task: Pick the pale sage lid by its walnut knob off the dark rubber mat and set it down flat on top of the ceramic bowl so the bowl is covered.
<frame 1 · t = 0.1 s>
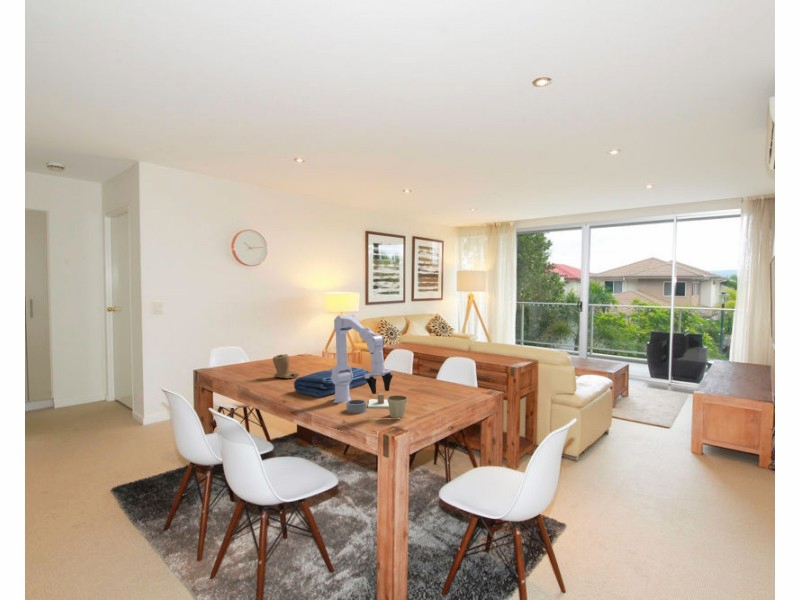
hand: (380, 392, 191), 10 cm above the table, tool pointing down, fingers open, 7 cm apart
mat: (380, 405, 207), on the table
lid: (380, 404, 207), point 1 cm above the table, touching mat
flower pot: (397, 417, 189), on the table
bowl: (356, 411, 197), on the table
towel: (333, 388, 244), on the table
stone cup: (284, 378, 270), on the table
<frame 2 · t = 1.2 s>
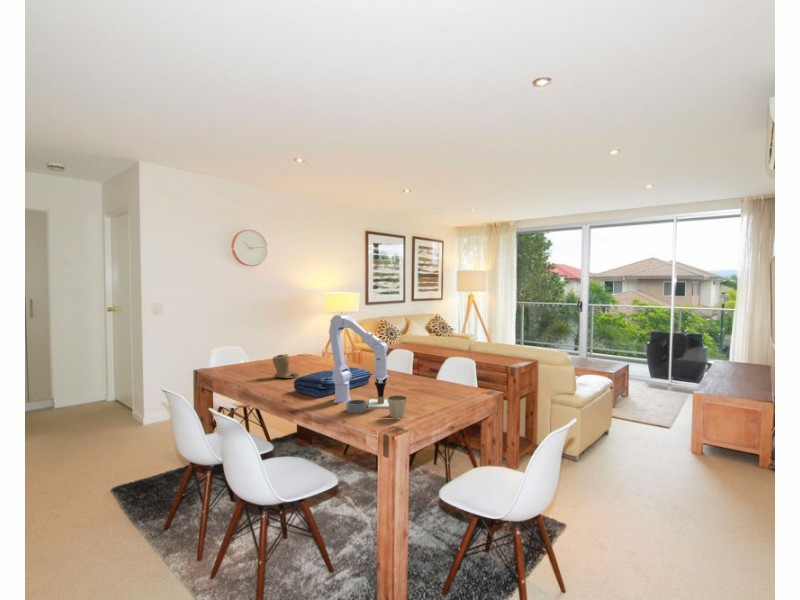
hand: (381, 394, 207), 5 cm above the table, tool pointing down, fingers open, 7 cm apart
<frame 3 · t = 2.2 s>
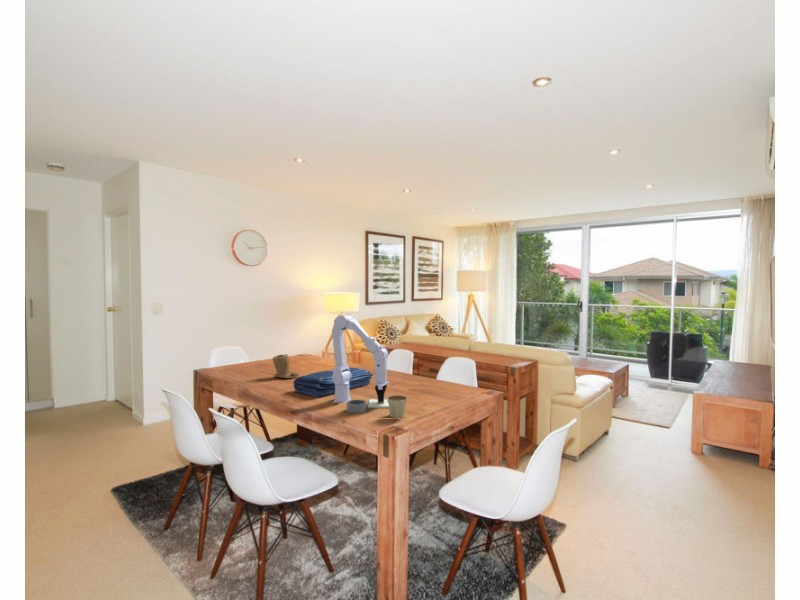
hand: (380, 400, 207), 2 cm above the table, tool pointing down, fingers closed on lid, 3 cm apart
lid: (380, 404, 207), point 1 cm above the table, touching gripper, mat
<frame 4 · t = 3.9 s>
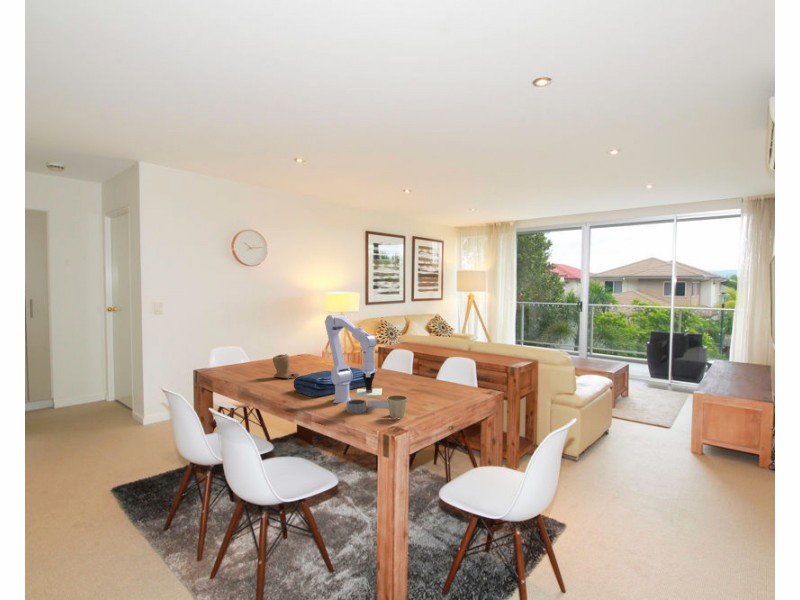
hand: (368, 389, 202), 9 cm above the table, tool pointing down, fingers closed on lid, 3 cm apart
lid: (369, 393, 202), point 7 cm above the table, touching gripper
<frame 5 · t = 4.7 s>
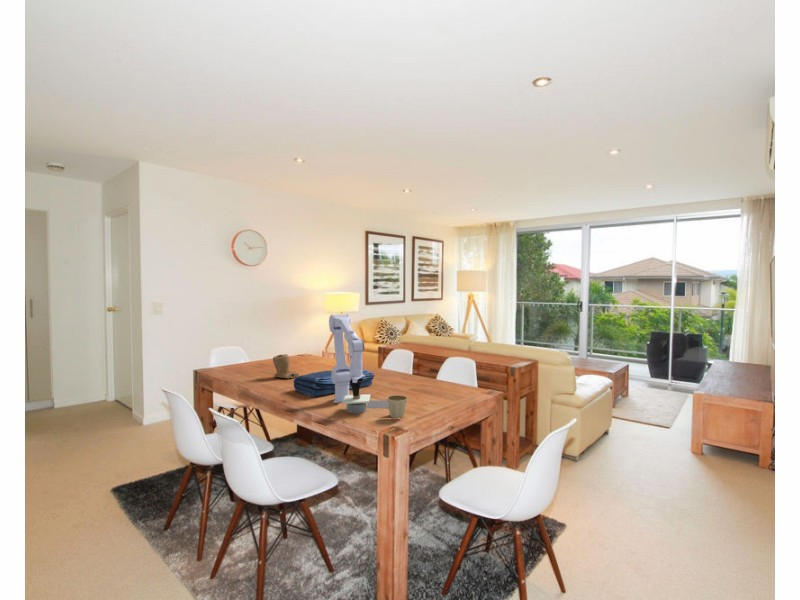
hand: (356, 394, 197), 8 cm above the table, tool pointing down, fingers closed on lid, 3 cm apart
lid: (356, 399, 197), point 6 cm above the table, touching gripper
when the fingers open (8 cm above the table, at t = 5.4 s): lid stays where it is, resting on bowl.
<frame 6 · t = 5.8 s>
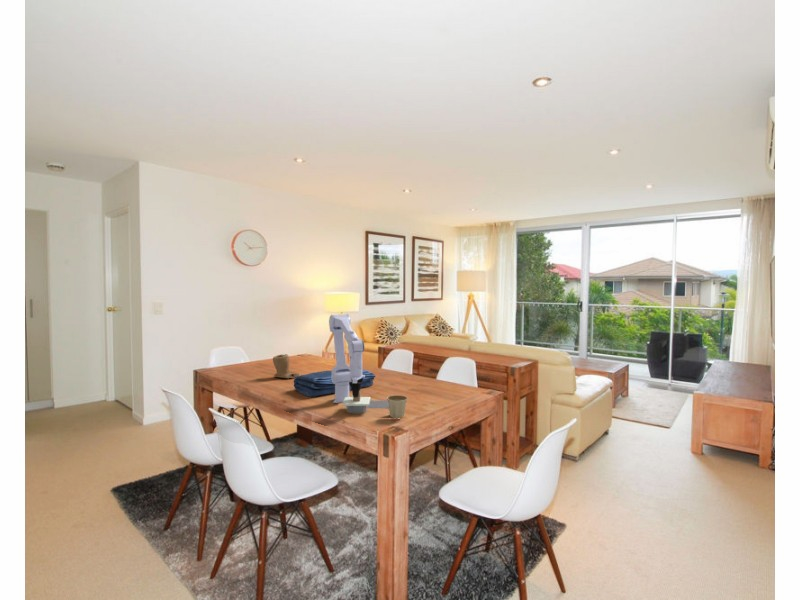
hand: (356, 395, 197), 8 cm above the table, tool pointing down, fingers open, 6 cm apart
lid: (356, 402, 197), point 4 cm above the table, touching bowl
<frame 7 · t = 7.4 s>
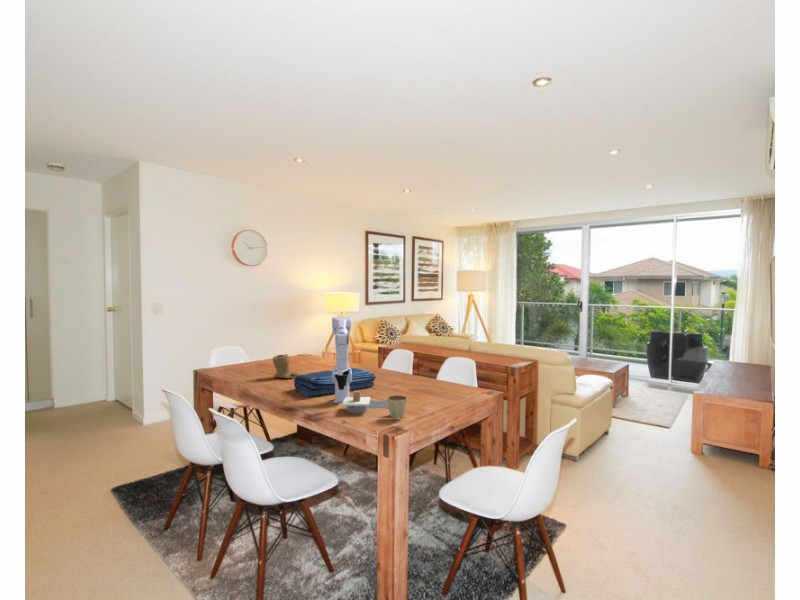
hand: (342, 387, 200), 10 cm above the table, tool pointing down, fingers open, 7 cm apart
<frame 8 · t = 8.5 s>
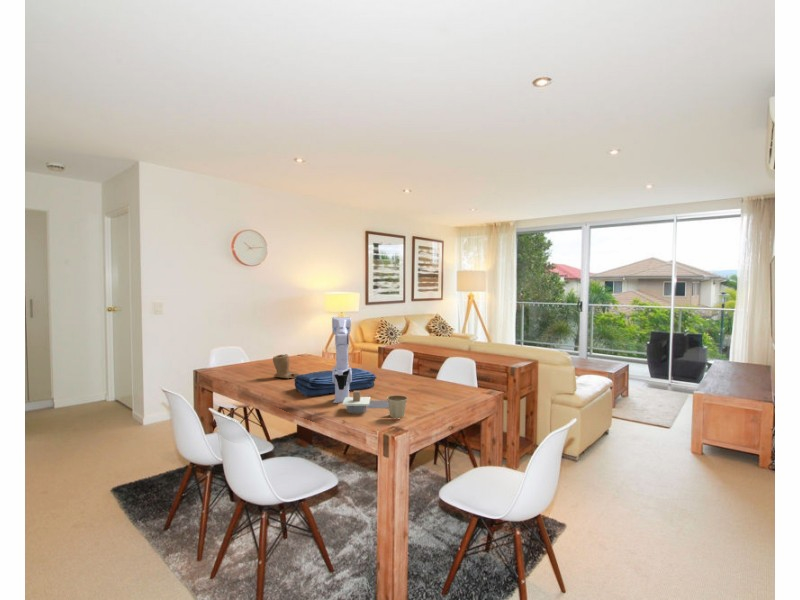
hand: (342, 387, 200), 10 cm above the table, tool pointing down, fingers open, 7 cm apart
at the end: lid 0.2 cm off-centre on the bowl, point 4.5 cm above the bowl's base; lid tilted 0°; the gripper is holding nothing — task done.
